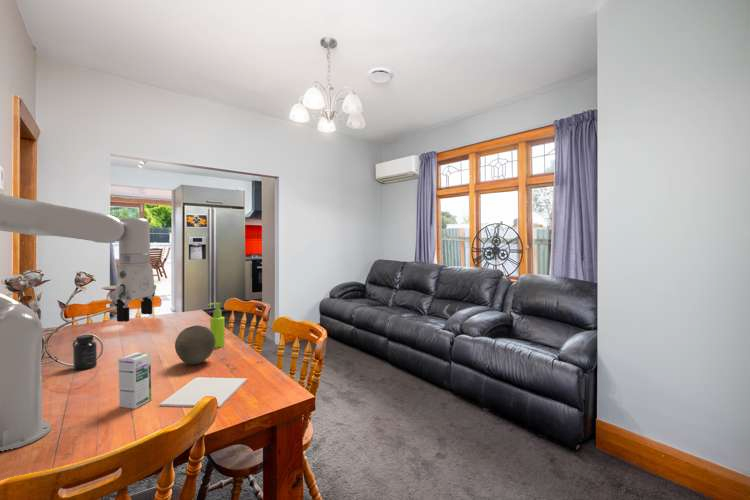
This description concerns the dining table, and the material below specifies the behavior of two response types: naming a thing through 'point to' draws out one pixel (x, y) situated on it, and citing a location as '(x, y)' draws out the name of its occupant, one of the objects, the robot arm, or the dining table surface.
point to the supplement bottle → (84, 353)
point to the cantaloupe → (195, 344)
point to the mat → (204, 391)
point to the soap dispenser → (218, 326)
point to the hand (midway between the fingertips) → (135, 317)
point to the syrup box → (134, 380)
